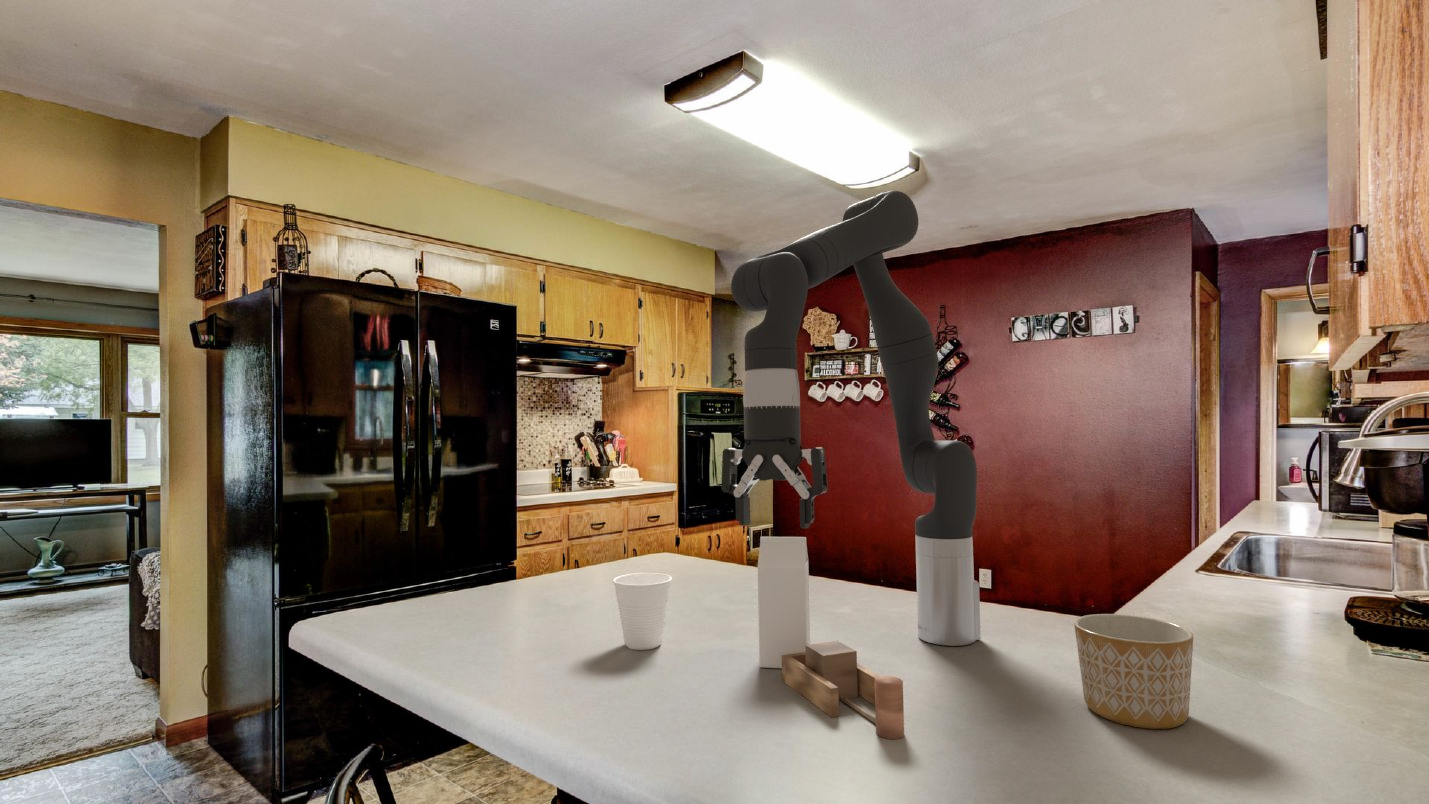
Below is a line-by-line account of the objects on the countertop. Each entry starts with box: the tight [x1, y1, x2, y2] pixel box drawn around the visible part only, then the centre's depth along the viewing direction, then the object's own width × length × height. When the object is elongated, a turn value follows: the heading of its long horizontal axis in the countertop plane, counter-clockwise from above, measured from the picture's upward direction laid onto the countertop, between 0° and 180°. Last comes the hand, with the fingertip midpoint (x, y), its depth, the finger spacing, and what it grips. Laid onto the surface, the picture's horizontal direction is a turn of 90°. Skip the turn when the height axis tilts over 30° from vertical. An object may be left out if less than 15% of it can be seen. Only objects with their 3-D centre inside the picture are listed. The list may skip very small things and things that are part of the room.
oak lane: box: [781, 652, 880, 718], centre depth 94 cm, size 14×8×4 cm, turn 20°
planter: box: [1073, 613, 1194, 730], centre depth 86 cm, size 13×13×10 cm
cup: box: [612, 572, 673, 651], centre depth 117 cm, size 10×10×11 cm
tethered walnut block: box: [805, 640, 905, 740], centre depth 88 cm, size 18×5×6 cm, turn 20°
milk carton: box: [757, 536, 811, 669], centre depth 108 cm, size 7×7×19 cm
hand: (774, 526), depth 93 cm, fingers open, 8 cm apart
